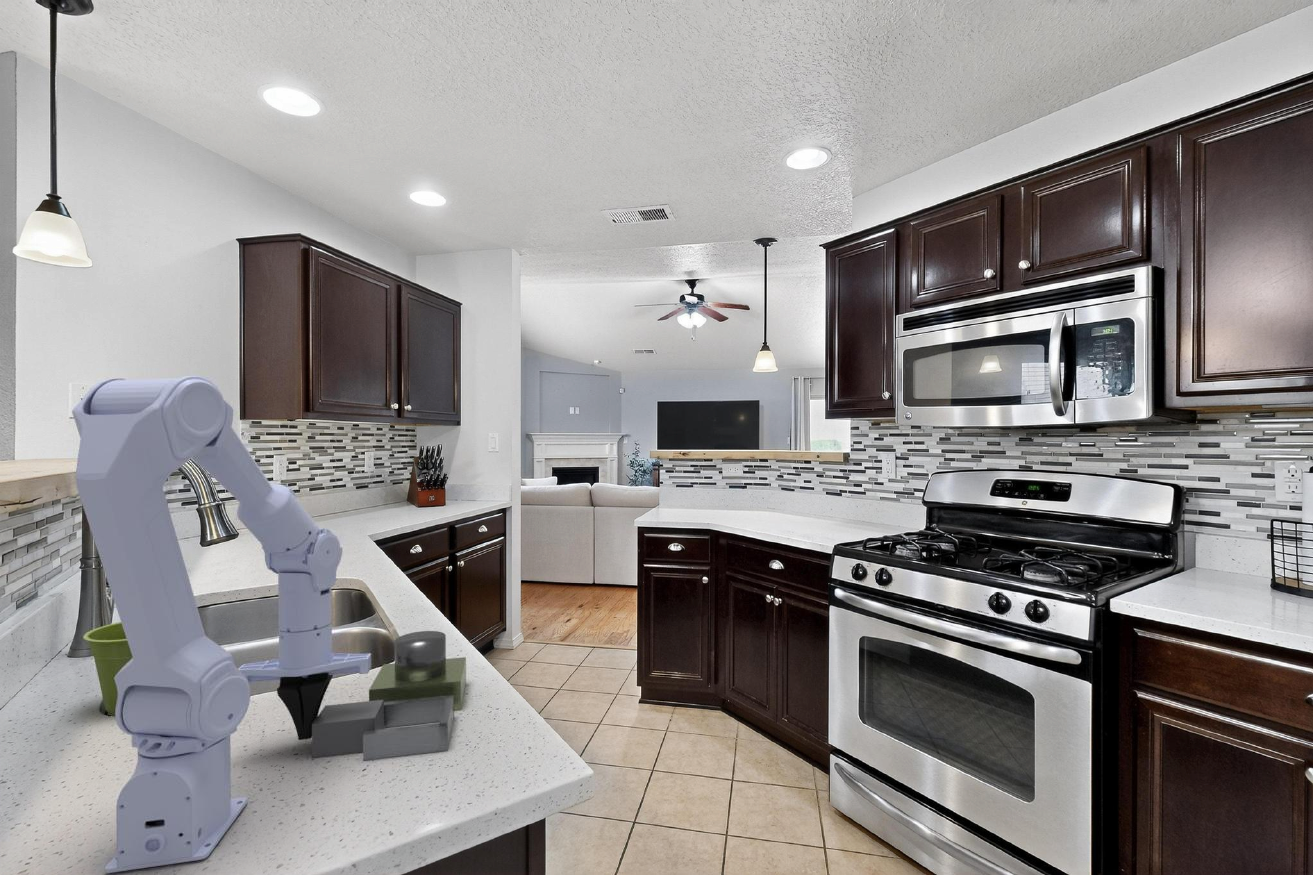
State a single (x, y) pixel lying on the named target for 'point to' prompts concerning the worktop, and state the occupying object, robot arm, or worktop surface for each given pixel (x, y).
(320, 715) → the grey block
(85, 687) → the worktop surface
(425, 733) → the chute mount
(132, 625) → the robot arm
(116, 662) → the plant pot
